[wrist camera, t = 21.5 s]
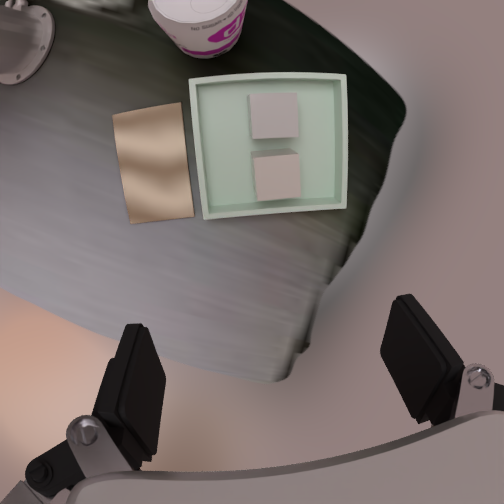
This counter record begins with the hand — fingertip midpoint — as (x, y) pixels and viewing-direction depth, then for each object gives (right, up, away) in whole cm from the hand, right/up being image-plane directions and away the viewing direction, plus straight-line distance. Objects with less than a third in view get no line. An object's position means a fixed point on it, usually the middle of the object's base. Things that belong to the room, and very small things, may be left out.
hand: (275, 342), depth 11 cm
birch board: (-13, +14, +26) cm, 32 cm away
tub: (+1, +17, +25) cm, 31 cm away
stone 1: (+1, +20, +23) cm, 31 cm away
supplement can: (-6, +30, +18) cm, 36 cm away
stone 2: (+2, +14, +27) cm, 30 cm away
